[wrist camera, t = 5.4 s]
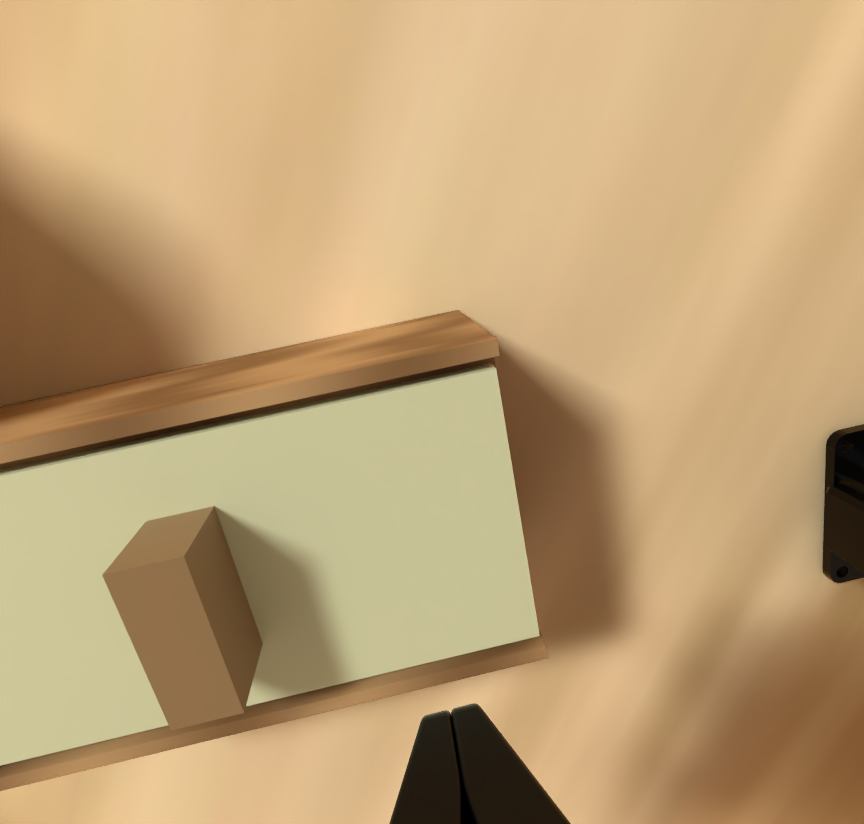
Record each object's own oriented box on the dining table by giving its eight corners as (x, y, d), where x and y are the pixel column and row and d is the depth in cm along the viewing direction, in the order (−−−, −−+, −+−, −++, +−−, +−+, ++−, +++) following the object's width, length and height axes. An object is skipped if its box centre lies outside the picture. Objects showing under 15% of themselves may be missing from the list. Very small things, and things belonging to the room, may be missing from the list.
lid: (490, 363, 13) (521, 393, 11) (533, 621, 15) (567, 699, 13) (-147, 501, 13) (-287, 570, 10) (-4, 749, 15) (-85, 859, 12)
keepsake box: (458, 310, 18) (497, 338, 12) (500, 547, 21) (548, 658, 15) (-41, 415, 17) (-236, 496, 12) (71, 647, 20) (-44, 801, 14)
